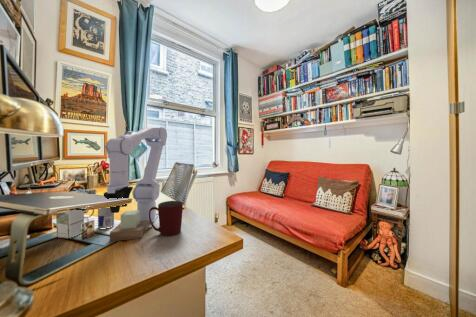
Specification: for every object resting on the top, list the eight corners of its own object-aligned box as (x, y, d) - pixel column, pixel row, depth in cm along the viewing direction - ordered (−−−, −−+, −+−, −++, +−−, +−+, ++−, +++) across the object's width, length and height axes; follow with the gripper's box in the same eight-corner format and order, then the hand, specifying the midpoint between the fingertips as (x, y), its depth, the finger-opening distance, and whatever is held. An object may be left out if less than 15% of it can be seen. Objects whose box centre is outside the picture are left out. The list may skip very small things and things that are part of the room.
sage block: (125, 223, 72) (125, 211, 72) (140, 222, 73) (139, 210, 73) (120, 229, 68) (120, 215, 67) (135, 227, 69) (135, 214, 68)
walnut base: (121, 229, 74) (121, 222, 74) (148, 227, 77) (148, 220, 76) (109, 241, 65) (109, 232, 65) (141, 238, 67) (141, 230, 67)
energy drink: (100, 225, 78) (99, 197, 78) (115, 223, 80) (115, 196, 80) (96, 230, 73) (95, 200, 73) (112, 228, 75) (111, 198, 75)
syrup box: (85, 232, 71) (84, 194, 71) (68, 239, 66) (68, 198, 65) (72, 231, 72) (72, 194, 72) (55, 238, 67) (54, 197, 66)
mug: (149, 241, 65) (149, 209, 65) (148, 231, 73) (148, 203, 72) (184, 234, 70) (184, 205, 70) (180, 226, 78) (180, 199, 78)
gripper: (115, 170, 74) (115, 204, 74) (96, 174, 60) (96, 216, 60) (135, 170, 75) (135, 203, 76) (121, 173, 61) (121, 215, 61)
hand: (119, 209), depth 68 cm, fingers open, 7 cm apart
